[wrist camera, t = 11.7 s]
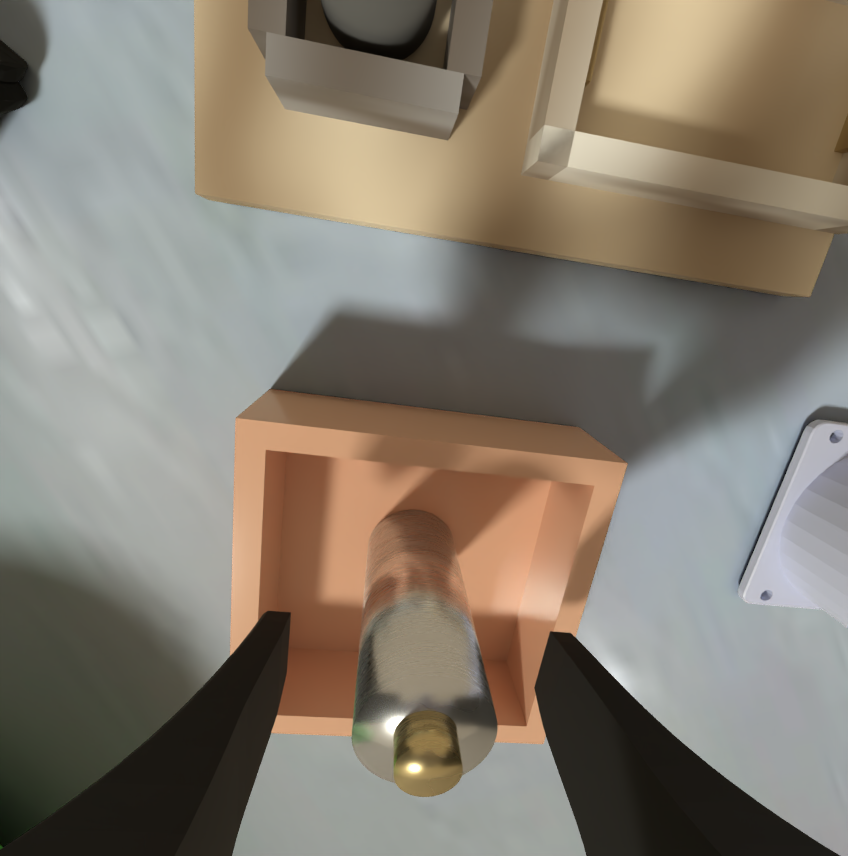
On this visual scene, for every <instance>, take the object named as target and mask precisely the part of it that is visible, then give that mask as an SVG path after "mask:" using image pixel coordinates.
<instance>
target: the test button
mask: <svg viewBox="0 0 848 856" xmlns="http://www.w3.org/2000/svg"><path fill="white" fill-rule="evenodd" d="M436 3H437V0H321V4H322V8H323V12H324V15H325V18H326V21H327V23H328V25H329V27H330V29H331V31H332V33H333V35H334V36H335V38H336V39H337V40H338V42H339V43H340V44H341V45H342V46H343V47H344V48H345V49H350V50H355V51H360V52H364V53H369V54H374V55H379V56H383V57H388V58H393V59H398V60H403V59H405V58H407V57H408V56H410V55H411V54H412V53H414V52H415V51H416V50H417V49H418V48H419V47H420V45H421V44H422V43H423V41H424V40H425V38H426V36H427V35H428V33H429V30H430V28H431V26H432V22H433V19H434V14H435V9H436Z"/></svg>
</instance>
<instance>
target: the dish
mask: <svg viewBox="0 0 848 856" xmlns="http://www.w3.org/2000/svg"><path fill="white" fill-rule="evenodd" d="M627 464H628V463H626V462H625V461H624V460H622V459H621V458H620V457H618V456H617V455H616V454H614V453H613V452H612V451H610V450H609V449H608V448H606V447H605V446H604V445H602V444H601V443H600V442H598V441H597V440H596V439H594V438H593V437H592V436H590V435H589V434H588V433H586V432H585V431H584V430H582V429H581V428H580V427H574V426H566V425H557V424H549V423H541V422H533V421H525V420H517V419H509V418H501V417H493V416H485V415H477V414H469V413H461V412H453V411H445V410H437V409H429V408H421V407H412V406H404V405H396V404H388V403H380V402H372V401H364V400H356V399H348V398H340V397H332V396H324V395H316V394H308V393H300V392H292V391H284V390H275V389H269V390H268V391H267V392H266V393H265V394H263V395H262V396H261V397H260V398H259V399H257V400H256V401H255V402H254V403H253V404H252V405H250V406H249V407H248V408H247V409H246V410H244V411H243V412H242V413H241V414H240V415H239V416H237V417H236V424H235V467H234V510H233V553H232V595H231V638H230V656H231V655H232V654H233V652H234V651H235V650H236V649H237V648H238V646H239V645H240V644H241V643H242V641H243V640H244V639H245V638H246V636H247V635H248V634H249V633H250V631H251V630H252V629H253V627H254V626H255V625H256V623H257V622H258V621H259V619H260V618H261V616H262V615H263V614H264V613H265V612H267V611H279V612H291V621H290V635H289V649H288V663H287V674H286V679H285V683H284V688H283V692H282V696H281V701H280V705H279V709H278V713H277V717H276V720H275V723H274V726H273V729H272V732H271V733H283V734H308V735H332V736H352V725H353V713H354V702H355V690H356V678H357V667H358V655H359V644H360V632H361V621H362V609H363V597H364V586H365V574H366V563H367V551H368V542H369V538H370V535H371V533H372V531H373V529H374V528H375V527H376V525H377V524H378V523H379V522H380V521H381V520H383V519H384V518H385V517H387V516H389V515H391V514H393V513H395V512H398V511H402V510H410V509H416V510H423V511H427V512H429V513H432V514H434V515H436V516H437V517H439V518H440V519H441V520H443V521H444V522H445V523H446V525H447V526H448V527H449V529H450V531H451V533H452V536H453V540H454V544H455V548H456V552H457V556H458V561H459V565H460V569H461V573H462V577H463V581H464V585H465V589H466V594H467V598H468V602H469V606H470V610H471V614H472V618H473V622H474V627H475V631H476V635H477V639H478V643H479V647H480V651H481V655H482V660H483V664H484V668H485V672H486V676H487V680H488V684H489V688H490V693H491V697H492V701H493V705H494V709H495V713H496V718H497V725H498V730H497V736H496V739H495V742H505V743H529V744H543V743H544V740H545V736H546V734H545V731H544V728H543V724H542V720H541V716H540V712H539V707H538V703H537V698H536V693H535V689H534V687H535V683H536V680H537V676H538V672H539V669H540V665H541V662H542V658H543V655H544V651H545V647H546V644H547V640H548V637H549V633H550V631H553V632H566V633H571V634H572V635H573V636H574V637H576V634H577V630H578V627H579V624H580V620H581V617H582V614H583V610H584V607H585V604H586V600H587V597H588V594H589V590H590V587H591V584H592V580H593V577H594V574H595V570H596V567H597V564H598V561H599V557H600V554H601V551H602V547H603V544H604V541H605V537H606V534H607V531H608V527H609V524H610V521H611V517H612V514H613V511H614V507H615V504H616V501H617V498H618V494H619V491H620V488H621V484H622V481H623V478H624V474H625V471H626V468H627Z"/></svg>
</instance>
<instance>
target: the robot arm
mask: <svg viewBox="0 0 848 856" xmlns="http://www.w3.org/2000/svg"><path fill="white" fill-rule="evenodd" d="M832 433H833V435H832V436H831V437H830V435H831V434H832ZM738 595H739V596H740V597H741V598H742V599H743V600H744V601H745V602H746V603H750V604H760V605H772V606H784V607H797V608H809V609H821V610H824V611H825V612H826V613H828V614H829V615H830V616H832V617H833V618H834V619H836V620H837V621H838V622H840V623H841V624H842V625H844V626H845V627H847V628H848V423H843V422H836V421H828V420H815V421H813V422H811V423H810V424H809V425H807V426H806V428H805V430H804V432H803V434H802V436H801V439H800V441H799V444H798V446H797V448H796V451H795V453H794V456H793V458H792V460H791V463H790V465H789V468H788V470H787V472H786V475H785V477H784V480H783V482H782V484H781V487H780V489H779V492H778V494H777V496H776V499H775V501H774V504H773V506H772V508H771V511H770V513H769V516H768V518H767V520H766V523H765V525H764V528H763V530H762V532H761V535H760V537H759V540H758V542H757V545H756V547H755V549H754V552H753V554H752V557H751V559H750V561H749V564H748V566H747V569H746V571H745V573H744V576H743V578H742V581H741V583H740V585H739V588H738ZM290 621H291V612H279V611H267V612H265V613H264V614H263V615H262V616H261V618H260V619H259V621H258V622H257V623H256V625H255V626H254V627H253V629H252V630H251V631H250V633H249V634H248V635H247V636H246V638H245V639H244V640H243V641H242V643H241V644H240V645H239V646H238V648H237V649H236V650H235V651H234V652H233V654H232V655H231V656H230V657H229V658H228V659H227V660H226V662H225V663H224V664H223V665H222V666H221V667H220V668H219V670H218V671H217V672H216V673H215V674H214V675H213V676H212V677H211V678H210V680H209V681H208V682H207V683H206V684H205V685H204V686H203V687H202V688H201V689H200V690H199V691H198V692H197V693H196V694H195V695H194V696H193V697H192V698H191V699H190V700H189V701H188V702H187V703H186V704H185V705H184V706H183V707H182V708H181V709H180V710H179V711H178V712H177V713H176V714H175V715H174V716H173V717H172V718H171V719H170V720H169V721H168V722H167V723H166V724H164V725H163V726H162V727H161V728H160V729H159V730H158V731H157V732H156V733H155V734H153V735H152V736H151V737H150V738H149V739H148V740H147V741H146V742H144V743H143V744H142V745H141V746H140V747H138V748H137V749H136V750H135V751H134V752H132V753H131V754H130V755H129V756H128V757H127V758H125V759H124V760H123V761H122V762H121V763H119V764H118V765H117V766H116V767H114V768H113V769H112V770H111V771H109V772H108V773H107V774H106V775H104V776H103V777H102V778H101V779H99V780H98V781H97V782H95V783H94V784H93V785H91V786H90V787H89V788H87V789H86V790H85V791H83V792H82V793H81V794H79V795H78V796H76V797H75V798H74V799H72V800H71V801H70V802H68V803H67V804H66V805H64V806H63V807H62V808H60V809H59V810H58V811H56V812H55V813H53V814H52V815H51V816H49V817H48V818H47V819H45V820H44V821H42V822H41V823H39V824H38V825H37V826H35V827H34V828H32V829H31V830H29V831H28V832H26V833H25V834H23V835H22V836H20V837H19V838H17V839H15V840H14V841H12V842H11V843H9V844H8V845H6V846H5V847H3V848H2V849H0V856H232V853H233V849H234V846H235V842H236V838H237V834H238V831H239V828H240V824H241V821H242V818H243V815H244V811H245V809H246V806H247V803H248V800H249V797H250V794H251V791H252V788H253V785H254V782H255V779H256V776H257V773H258V770H259V767H260V764H261V761H262V758H263V755H264V752H265V749H266V746H267V744H268V741H269V738H270V735H271V732H272V729H273V726H274V723H275V720H276V717H277V713H278V709H279V705H280V701H281V696H282V692H283V688H284V683H285V679H286V674H287V663H288V649H289V635H290ZM534 689H535V693H536V698H537V703H538V707H539V712H540V716H541V720H542V724H543V728H544V731H545V734H546V737H547V740H548V743H549V746H550V749H551V751H552V754H553V757H554V760H555V763H556V766H557V769H558V771H559V774H560V777H561V780H562V783H563V785H564V788H565V791H566V794H567V797H568V800H569V802H570V805H571V808H572V811H573V814H574V816H575V819H576V822H577V825H578V828H579V832H580V835H581V838H582V841H583V844H584V848H585V852H586V855H587V856H840V855H838V854H836V853H835V852H833V851H831V850H830V849H828V848H826V847H825V846H823V845H821V844H820V843H818V842H817V841H815V840H814V839H812V838H811V837H809V836H808V835H806V834H805V833H803V832H801V831H800V830H798V829H797V828H795V827H794V826H792V825H791V824H789V823H788V822H786V821H785V820H783V819H782V818H780V817H779V816H777V815H776V814H775V813H773V812H772V811H770V810H769V809H767V808H766V807H764V806H763V805H762V804H760V803H759V802H757V801H756V800H755V799H753V798H752V797H751V796H749V795H748V794H747V793H745V792H744V791H742V790H741V789H740V788H738V787H737V786H736V785H734V784H733V783H732V782H730V781H729V780H728V779H726V778H725V777H724V776H722V775H721V774H720V773H719V772H717V771H716V770H715V769H713V768H712V767H711V766H710V765H708V764H707V763H706V762H705V761H704V760H702V759H701V758H700V757H699V756H698V755H696V754H695V753H694V752H693V751H692V750H690V749H689V748H688V747H687V746H686V745H684V744H683V743H682V742H681V741H680V740H679V739H677V738H676V737H675V736H674V735H673V734H672V733H671V732H670V731H668V730H667V729H666V728H665V727H664V726H663V725H662V724H661V723H660V722H659V721H658V720H657V719H656V718H654V717H653V716H652V715H651V714H650V713H649V712H648V711H647V710H646V709H645V708H644V707H643V706H642V705H641V704H640V703H639V702H638V701H637V700H636V699H635V698H634V697H633V696H632V695H631V694H630V693H629V692H628V691H627V690H626V689H625V688H624V687H623V686H622V685H621V684H620V683H619V682H618V681H617V680H616V679H615V678H614V677H613V676H612V675H611V674H610V673H609V672H608V671H607V670H606V669H605V668H604V667H603V666H602V665H601V664H600V663H599V662H598V660H597V659H596V658H595V657H594V656H593V655H592V654H591V653H590V652H589V651H588V650H587V649H586V648H585V647H584V646H583V645H582V644H581V643H580V642H579V641H578V640H577V639H576V638H575V637H574V636H573V635H572V634H571V633H566V632H553V631H550V633H549V637H548V640H547V644H546V647H545V651H544V655H543V658H542V662H541V665H540V669H539V672H538V676H537V680H536V683H535V687H534Z"/></svg>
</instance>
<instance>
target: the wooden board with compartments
mask: <svg viewBox="0 0 848 856" xmlns="http://www.w3.org/2000/svg"><path fill="white" fill-rule="evenodd" d="M194 34H195V194H197V195H200V196H202V197H204V198H206V199H208V200H212V201H218V202H224V203H230V204H236V205H242V206H248V207H254V208H259V209H265V210H271V211H277V212H283V213H289V214H295V215H301V216H307V217H313V218H319V219H325V220H331V221H337V222H343V223H349V224H355V225H361V226H367V227H373V228H379V229H385V230H391V231H397V232H403V233H409V234H415V235H421V236H427V237H433V238H439V239H445V240H451V241H457V242H463V243H469V244H475V245H480V246H486V247H492V248H498V249H504V250H510V251H516V252H522V253H528V254H534V255H540V256H546V257H552V258H558V259H564V260H570V261H576V262H582V263H588V264H594V265H600V266H606V267H612V268H618V269H624V270H630V271H636V272H642V273H648V274H654V275H660V276H666V277H672V278H678V279H684V280H690V281H696V282H701V283H707V284H713V285H719V286H725V287H731V288H737V289H743V290H749V291H755V292H761V293H767V294H773V295H779V296H791V297H810V296H811V294H812V291H813V288H814V286H815V283H816V281H817V278H818V275H819V273H820V270H821V268H822V265H823V262H824V260H825V257H826V255H827V252H828V249H829V247H830V244H831V242H832V239H833V236H834V234H845V233H848V0H437V3H436V9H435V14H434V19H433V22H432V26H431V28H430V30H429V33H428V35H427V36H426V38H425V40H424V41H423V43H422V44H421V45H420V47H419V48H418V49H417V50H416V51H415V52H414V53H412V54H411V55H410V56H408V57H407V58H405V59H403V60H398V59H393V58H388V57H383V56H379V55H374V54H369V53H364V52H360V51H355V50H350V49H345V48H344V47H343V46H342V45H341V44H340V43H339V42H338V40H337V39H336V38H335V36H334V35H333V33H332V31H331V29H330V27H329V25H328V23H327V21H326V18H325V15H324V12H323V8H322V4H321V0H194Z"/></svg>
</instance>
